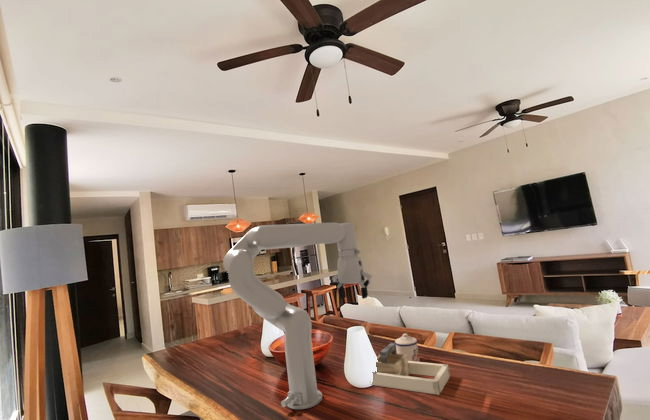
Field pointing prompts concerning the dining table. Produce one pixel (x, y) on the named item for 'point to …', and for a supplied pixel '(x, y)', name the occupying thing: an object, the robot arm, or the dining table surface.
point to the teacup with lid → (408, 347)
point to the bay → (416, 378)
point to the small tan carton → (392, 361)
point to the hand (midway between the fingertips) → (353, 298)
